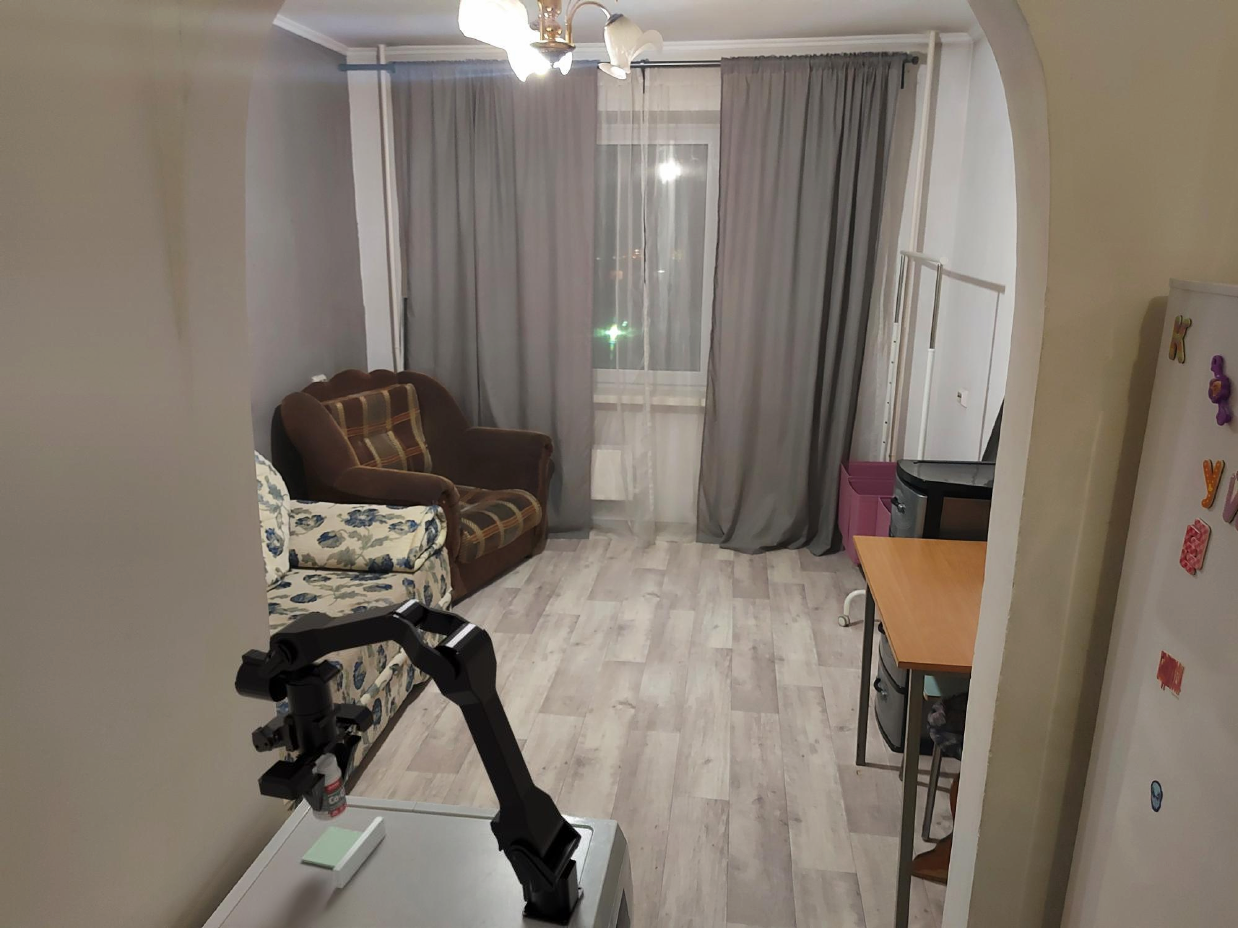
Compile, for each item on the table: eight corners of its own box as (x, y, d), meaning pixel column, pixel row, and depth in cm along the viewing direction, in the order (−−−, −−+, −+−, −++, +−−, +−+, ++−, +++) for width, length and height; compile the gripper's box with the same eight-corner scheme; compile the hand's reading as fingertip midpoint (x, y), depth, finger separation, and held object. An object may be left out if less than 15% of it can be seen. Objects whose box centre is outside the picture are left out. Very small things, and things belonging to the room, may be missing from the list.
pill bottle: (337, 823, 121) (327, 773, 119) (307, 820, 122) (297, 770, 120) (353, 800, 125) (344, 752, 123) (324, 798, 126) (315, 749, 124)
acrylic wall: (386, 833, 128) (383, 817, 127) (342, 888, 118) (339, 870, 117) (380, 832, 128) (377, 816, 127) (336, 886, 118) (332, 869, 117)
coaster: (370, 836, 128) (370, 833, 128) (342, 869, 121) (342, 867, 121) (331, 828, 130) (330, 825, 130) (301, 860, 124) (301, 858, 123)
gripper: (305, 664, 130) (321, 752, 134) (215, 735, 113) (237, 833, 117) (368, 672, 126) (383, 762, 131) (285, 746, 109) (305, 847, 114)
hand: (328, 798), depth 123 cm, fingers closed on pill bottle, 5 cm apart
